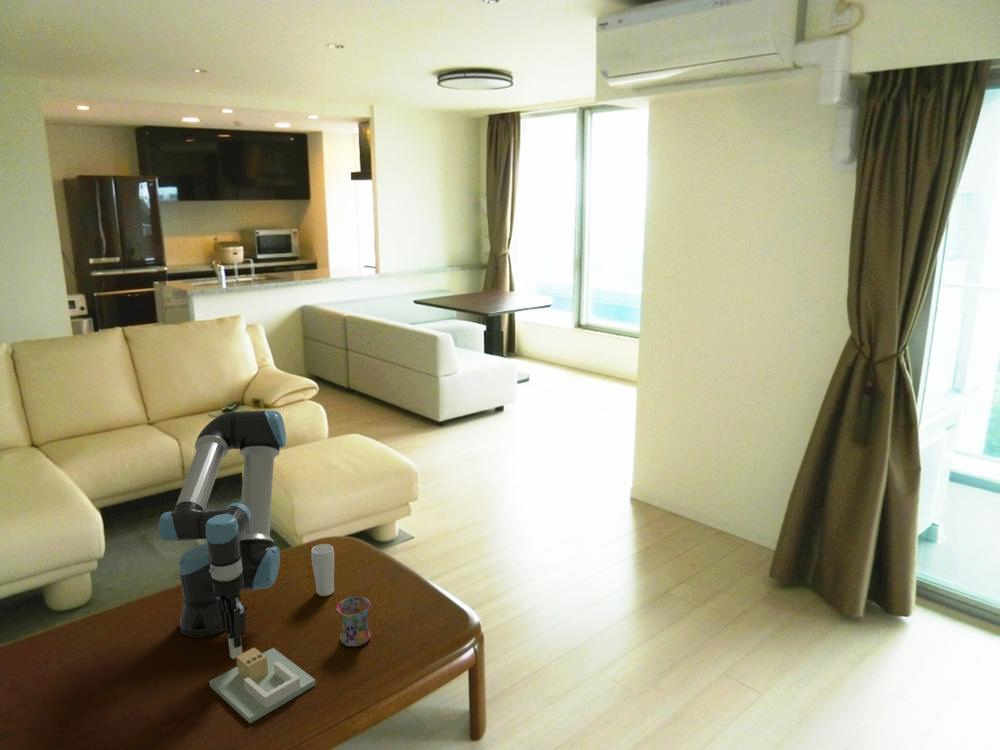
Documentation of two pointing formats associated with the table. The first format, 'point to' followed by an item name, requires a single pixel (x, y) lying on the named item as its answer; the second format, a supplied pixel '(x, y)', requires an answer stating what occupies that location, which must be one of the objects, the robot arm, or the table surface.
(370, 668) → the table surface
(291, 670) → the board
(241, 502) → the robot arm
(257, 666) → the plug
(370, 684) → the table surface
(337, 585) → the table surface
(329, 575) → the drinking glass
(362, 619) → the mug
